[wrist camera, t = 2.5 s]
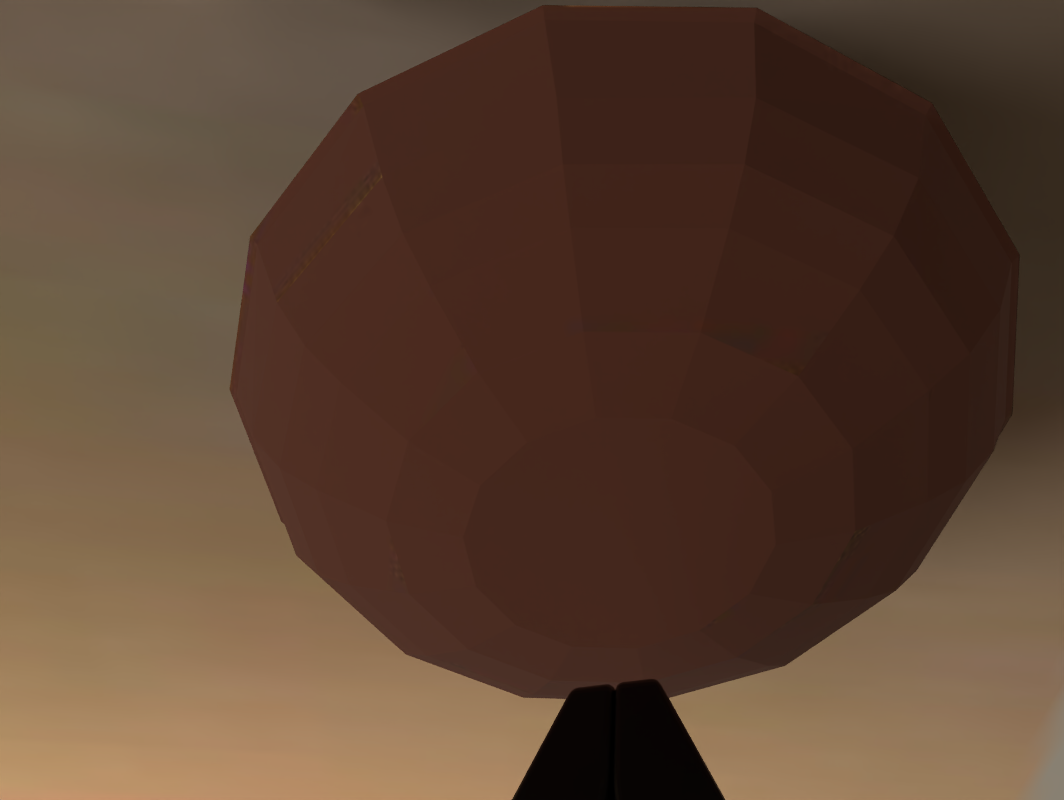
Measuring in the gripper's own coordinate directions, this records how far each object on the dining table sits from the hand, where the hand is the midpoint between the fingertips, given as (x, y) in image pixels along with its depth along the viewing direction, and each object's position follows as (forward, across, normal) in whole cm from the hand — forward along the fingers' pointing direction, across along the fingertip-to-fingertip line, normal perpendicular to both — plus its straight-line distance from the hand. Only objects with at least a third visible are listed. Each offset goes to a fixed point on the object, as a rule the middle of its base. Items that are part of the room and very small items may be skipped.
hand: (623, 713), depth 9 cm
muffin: (+13, 0, 0) cm, 13 cm away
